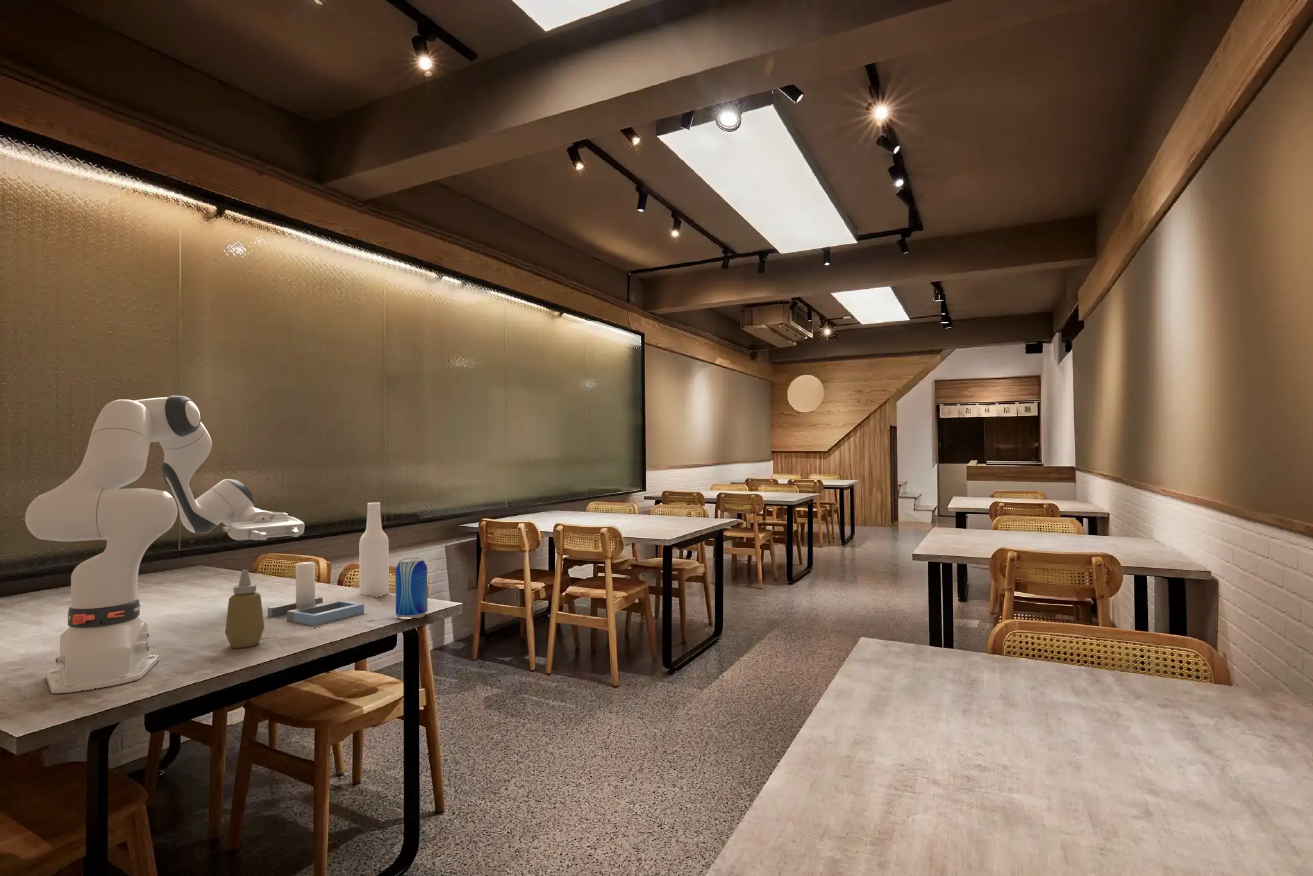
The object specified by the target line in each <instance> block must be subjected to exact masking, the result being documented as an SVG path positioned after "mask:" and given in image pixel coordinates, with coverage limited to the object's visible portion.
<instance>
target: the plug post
mask: <svg viewBox="0 0 1313 876" xmlns="http://www.w3.org/2000/svg"><path fill="white" fill-rule="evenodd" d="M315 597H316V563H315V561H305V562H304V561H302V562H298V563H295V602H296V609H298V608H303V607H307V606H312V605H315Z"/></svg>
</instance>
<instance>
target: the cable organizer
mask: <svg viewBox="0 0 1313 876" xmlns="http://www.w3.org/2000/svg"><path fill="white" fill-rule="evenodd" d="M323 601H324V598H323V596H322V597H321V596H315V605H312V606H307V607H303V608H298V609H296V601H291V602H287V603H283V604H278V605H273V606H269V607H268V606H267V617H268V618H271V619H272V618H273V619H277V620H283V621H288V622H293V623H296V624H297V623H298V624H303V625H307V626H312V627H314V629H316V628H317V627H316V626H319V627H318V628H320V627H321V626H320V625H324V624H329V623H332V622H337V621H340V620H344V619H348V618H349V619H350V618H351V617H357V616H361V615H364V614H366V612H365V603H360V602H355V601H354V602H353V601H347V600H341V599H334V600H330V601H326V602H323ZM267 617H266V618H267ZM314 629H313V630H314ZM320 629H321V628H320ZM316 630H317V629H316Z"/></svg>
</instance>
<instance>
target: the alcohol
mask: <svg viewBox="0 0 1313 876" xmlns="http://www.w3.org/2000/svg"><path fill="white" fill-rule="evenodd" d="M366 506H367V507H366V509H367V513H366V528H365V531H364V533H362V535H361V537H360V539H359V542H358V543H359V545H358V549H359V551H358V552H359V553H358V556H359V561H358V563H359V566H358V567H359V571H358V572H359V574H358V575H359V576H358V577H359V579H358V580H359V595H362V596H371V598H373V597H374V598H377V597H376V596H380V595H385V594H387V595H388V593H389V592H390V557H389V555H390V550H389V549H390V547H389V546H390V545H389V544H390V543H389V537H388V535H387V534H386V532H384V530H383V527H382V516H381V502H380V501H379V502H378V501H377V502H368V503H367V505H366ZM385 596H386V595H385Z"/></svg>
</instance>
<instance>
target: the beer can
mask: <svg viewBox="0 0 1313 876" xmlns="http://www.w3.org/2000/svg"><path fill="white" fill-rule="evenodd" d="M394 571H395V572H394V573H395V615H396V616H397V617H411V618H418V619H422V618H424V617H425V616H426V614H427V612H428V610H429V609H428V608H429V607H428V565H427V564H426V562H425V559H424V557H408V558H406V557H405V558H402V559H399V560H398V564H397V565H396V567H395V569H394Z"/></svg>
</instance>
